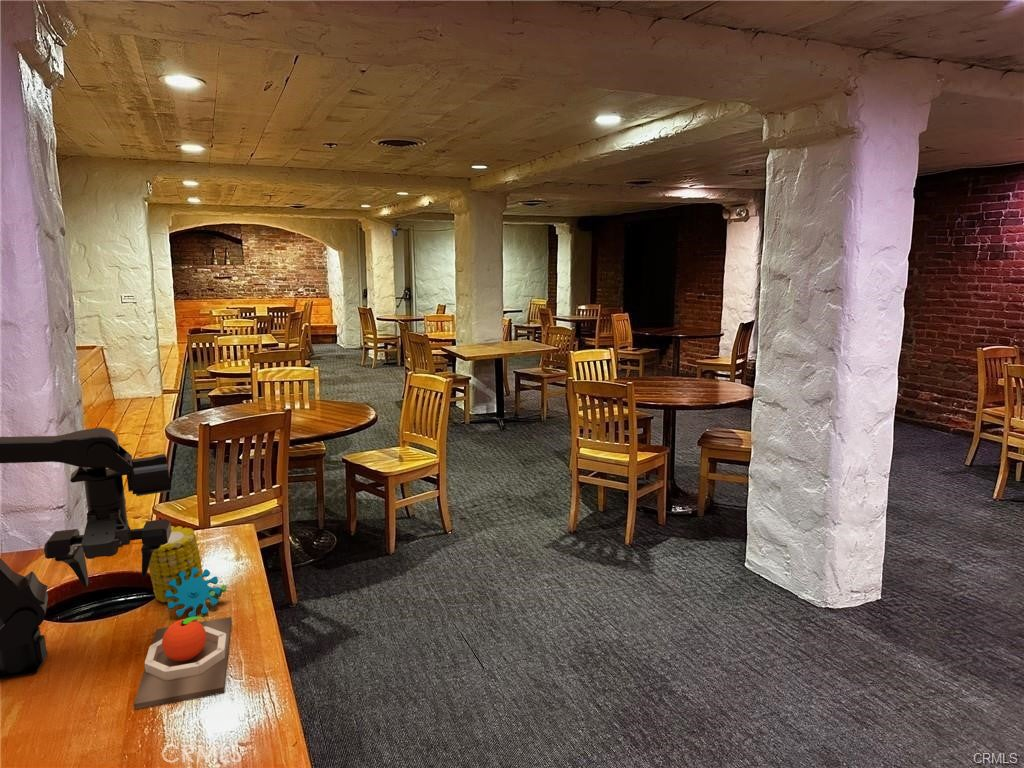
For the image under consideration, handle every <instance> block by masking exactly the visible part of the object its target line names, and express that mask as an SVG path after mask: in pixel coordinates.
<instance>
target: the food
mask: <svg viewBox="0 0 1024 768" xmlns="http://www.w3.org/2000/svg"><path fill="white" fill-rule="evenodd" d="M192 568H198V573H197V574H195V575H194V576H193V577H194V578H198V577H199V576H201V575H202V574H203V569H202V568H203V566H202V559H201V556H200V550H199V546H198V543H197V537H196V533H195V530H194V529H193V528H191V527H184V528H183V526H180V525H179V526H176V527H175V526H173V525H171V534H170V537H169V540H168V543H167V544H164V545H161V547H160V548H159V549H156V550H153V553H152V556H151V560H150V563H149V567H148V571H149V576H150V580H151V585H152V588H153V593H154V597H155V599H156V600H157V601H158V602H161V603H166V602H167V603H168V602H170V601H172V602H174V603H177V602H178V601H179V600H178V599H176V598H165V594H166V592H167V590H170V591H171V592H172V593H173V594H177V593H178V592H177V590H176V589H175V588H174V587H171V586H169V582H170V581H171V580H172V579H175V580H176V585H177V586H180V585H181V584H182V580H181V578H180V577H179V572H182V571H185V572H186V576H185V577H184V580H188V579H189V578H190V576H191V569H192ZM202 580H205V577H203V578H202Z"/></svg>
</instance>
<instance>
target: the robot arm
mask: <svg viewBox="0 0 1024 768" xmlns="http://www.w3.org/2000/svg"><path fill="white" fill-rule="evenodd" d="M23 463H24V464H25V463H26V464H27V463H30V464H31V463H61V464H65V465H70V466H73V467H77V468H76V469H75V470H74V471H73V472H72V473H71V475H70V480H69V481H70V482H71V483H80V482H83V483H84V491H85V498H86V500H85V501H86V507H87V513H86V524H85V528H84V533H83V534H80V531H79V529H78V528H74V529H62V530H57V531H54V532H53V533H52V534H51V536H50V537H49V538H48V539H47V541H46V542H45V543H44V548H43V552H44V558H45V559H46V560H47V559H48V560H49V559H54V560H55V562H63V563H65V564H67V565H68V566H69V568H71V569H72V570H73V572H74V574H75V575H76V577H77V578H78V579H79V581H80V583H81V584H82V586H83V587H84V588H87V587H88V585H89V572H88V567H87V562H86V561H87V560H88V559H89V560H93V559H95V558H101V557H107V558H109V557H110V558H111V557H114V556H115V555H117V554H118V552H119V548H123V546H129V545H130V544H131V541H137V540H138V541H139V540H141V544H142V546H141V548H140V551H141V577H142V580H146V577H147V574H148V571H149V563H150V560H151V556H152V553H153V550H156V549H159V548H160V547H161V545H164V544H167V543H168V540H169V537H170V534H171V526H172V525H171V521H170V520H168V519H167V518H163V519H155V520H147V521H146V522H145V524H144V525H143V527H141V528H132V529H131V527H130V525H129V519H128V514H127V500H126V497H125V487H124V480H123V476H126V479H127V480H126V482H127V489H128V492H132V495H135V496H136V497H143V496H148V495H154V494H155V495H156V494H161V493H168V492H172V482H171V475H170V474H171V473H170V469H169V467H168V461H167V455H166V454H165V453H162V454H156V455H152V456H148V457H140V458H133V455H132V454H130V452H129V451H127V450H126V449H125V448H124V447H123V446H122V445H120V443H119V438H118V436H117V435H116V434H115V432H113V431H112V430H111V429H110V428H106V427H95V428H89V429H80V430H76V431H73V432H72V431H71V432H68V433H65V434H59V435H46V436H45V435H40V436H39V435H37V436H33V435H32V436H30V435H29V436H0V464H23ZM86 559H87V560H86ZM47 590H48V585H46V584H45V583H42V582H41V581H40V580H39V579H38V577H37V575H36V574H35V572H34V571H30V572H29V573H28V574H27V575H25V576H24V575H23V574H19V573H17V572H15V571H14V570H13V569H12V568H11V567H10V566H9V565H8V564H7V563H6V562H5V561H4V560H3V559H2V558H1V557H0V681H1V680H8V679H14V678H19V677H21V678H22V677H26V676H32V675H36V674H37V673H38V672H39V669H40V668H41V666H42V664H44V662H45V660H46V658H47V656H48V650H47V644H46V643H47V642H46V638H45V635H44V634H41V629H40V628H41V627H40V626H41V625H42V623H43V622H44V621H45V617H46V613H47V606H48V600H49V595H48V592H47Z"/></svg>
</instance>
